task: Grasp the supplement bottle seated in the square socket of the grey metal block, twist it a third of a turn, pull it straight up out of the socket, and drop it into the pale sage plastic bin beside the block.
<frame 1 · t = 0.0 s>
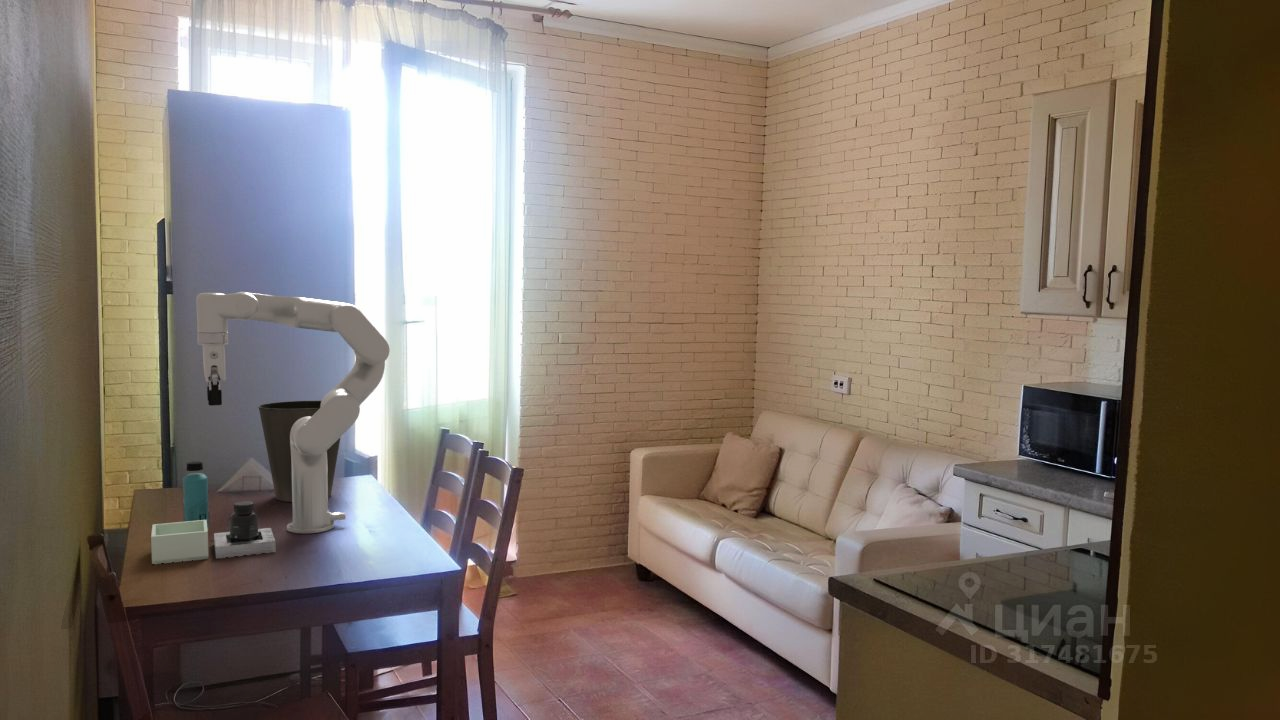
hand: (214, 402, 254), 37 cm above the table, tool pointing down, fingers open, 9 cm apart
socket block: (244, 548, 247), on the table
supplement bottle: (244, 549, 247), resting in socket block
beverage bottle: (196, 534, 261), on the table
bin: (180, 554, 241), on the table
waste basket: (304, 497, 306), on the table
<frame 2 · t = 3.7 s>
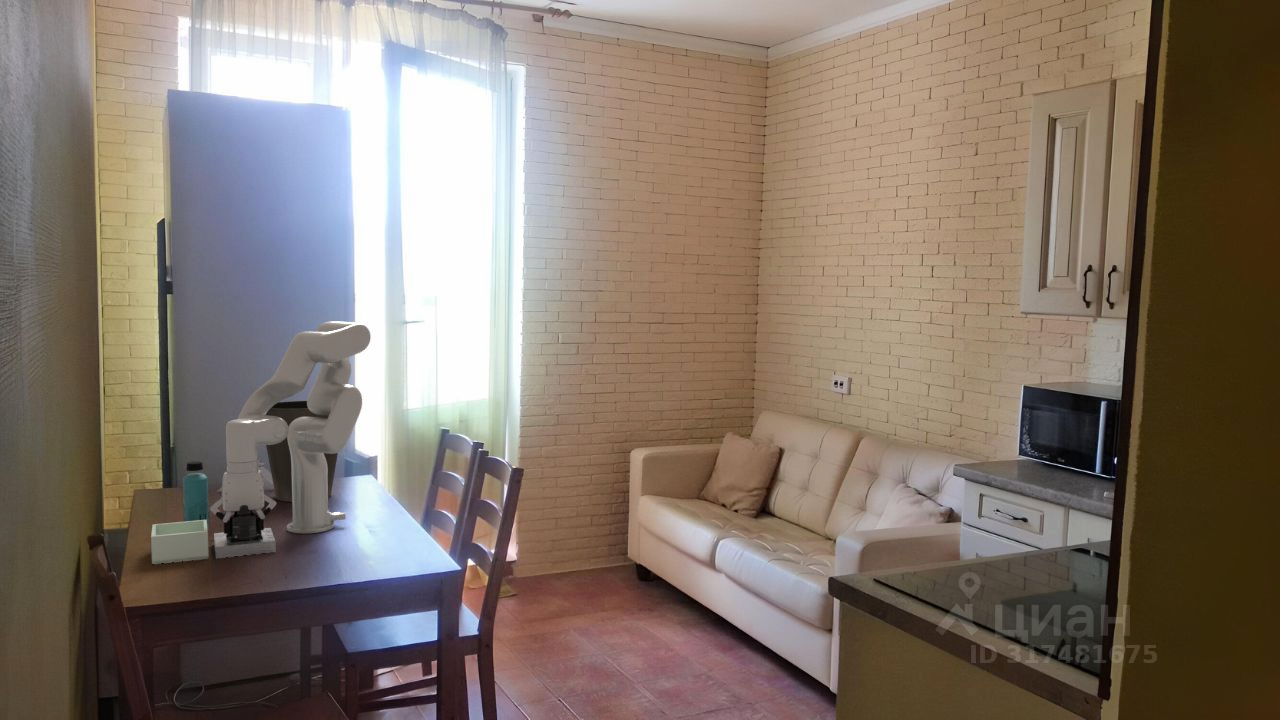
hand: (244, 534, 247), 4 cm above the table, tool pointing down, fingers closed on supplement bottle, 6 cm apart
supplement bottle: (244, 549, 247), resting in socket block, touching gripper
everything else where it was.
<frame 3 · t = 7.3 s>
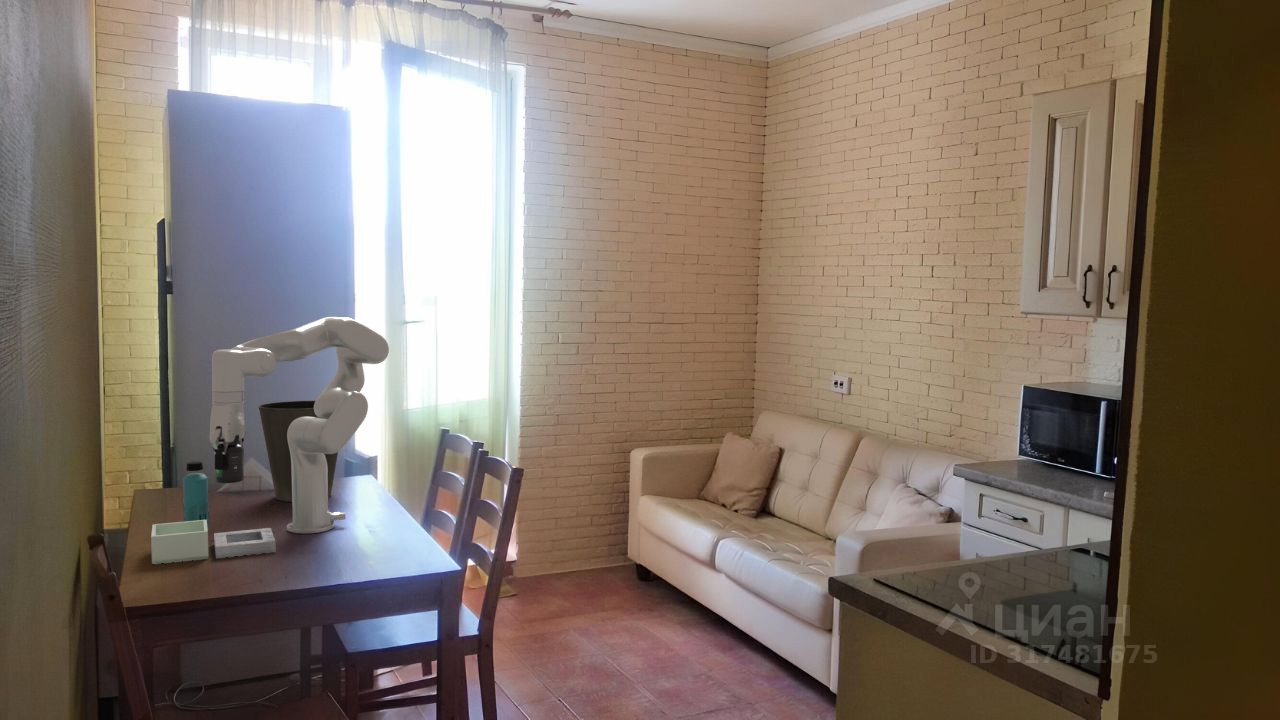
hand: (228, 466, 244), 22 cm above the table, tool pointing down, fingers closed on supplement bottle, 6 cm apart
supplement bottle: (229, 481, 244), point 18 cm above the table, touching gripper
everything else where it was.
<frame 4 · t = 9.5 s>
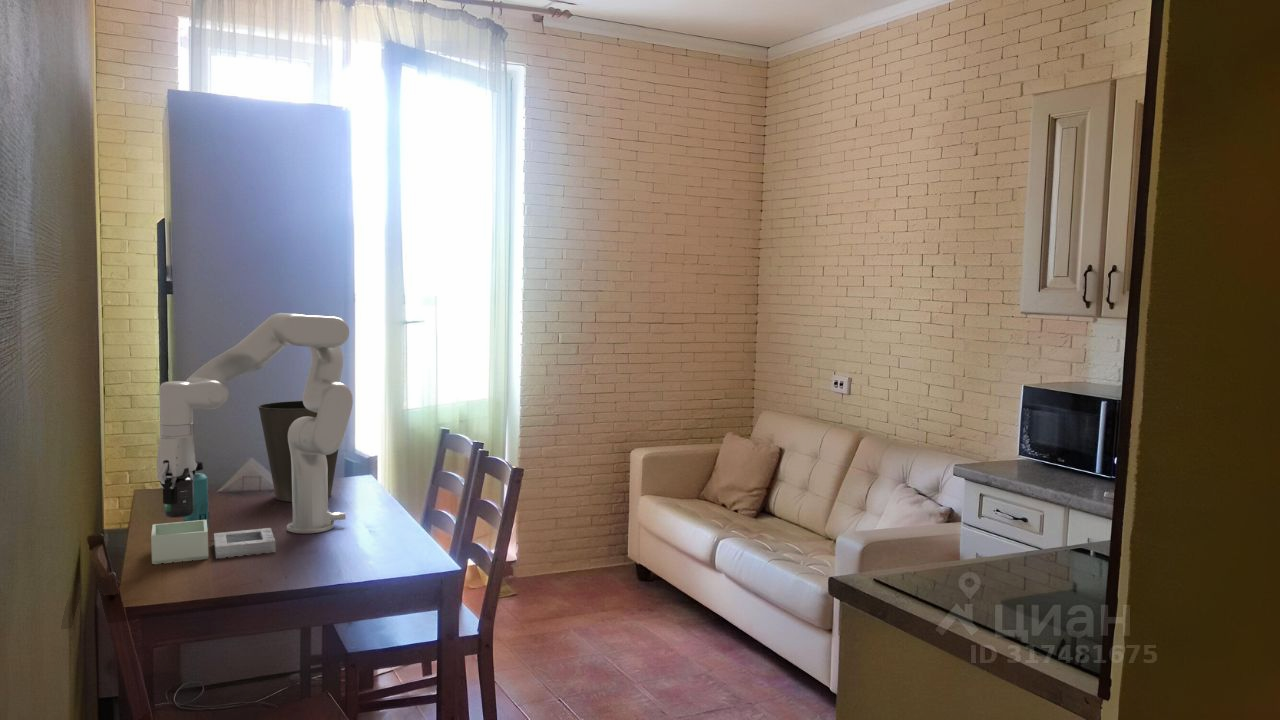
hand: (178, 500, 240), 14 cm above the table, tool pointing down, fingers closed on supplement bottle, 6 cm apart
supplement bottle: (179, 515, 240), point 10 cm above the table, touching gripper
everything else where it was.
when the fingers open (7 cm above the table, at t = 11.3 s): supplement bottle drops 2 cm, resting on bin.
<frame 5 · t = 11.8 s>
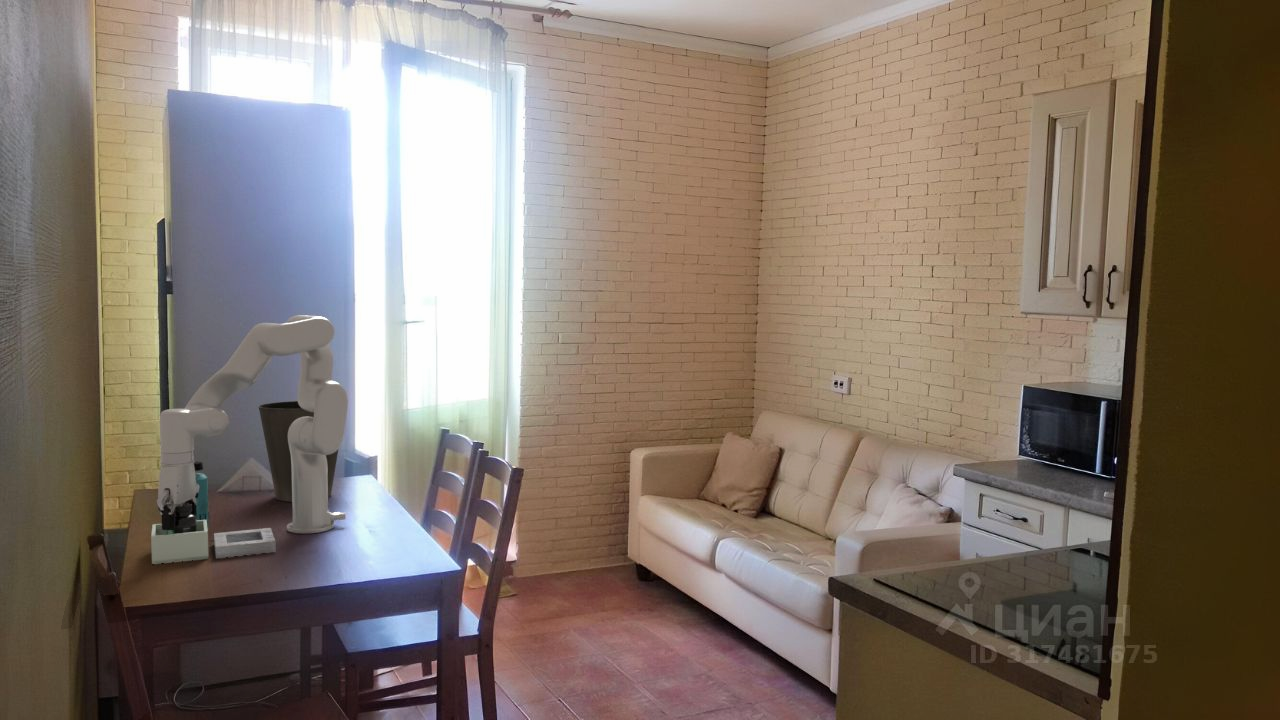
hand: (179, 524, 240), 8 cm above the table, tool pointing down, fingers open, 9 cm apart
supplement bottle: (182, 552, 241), point 1 cm above the table, touching bin
everything else where it was.
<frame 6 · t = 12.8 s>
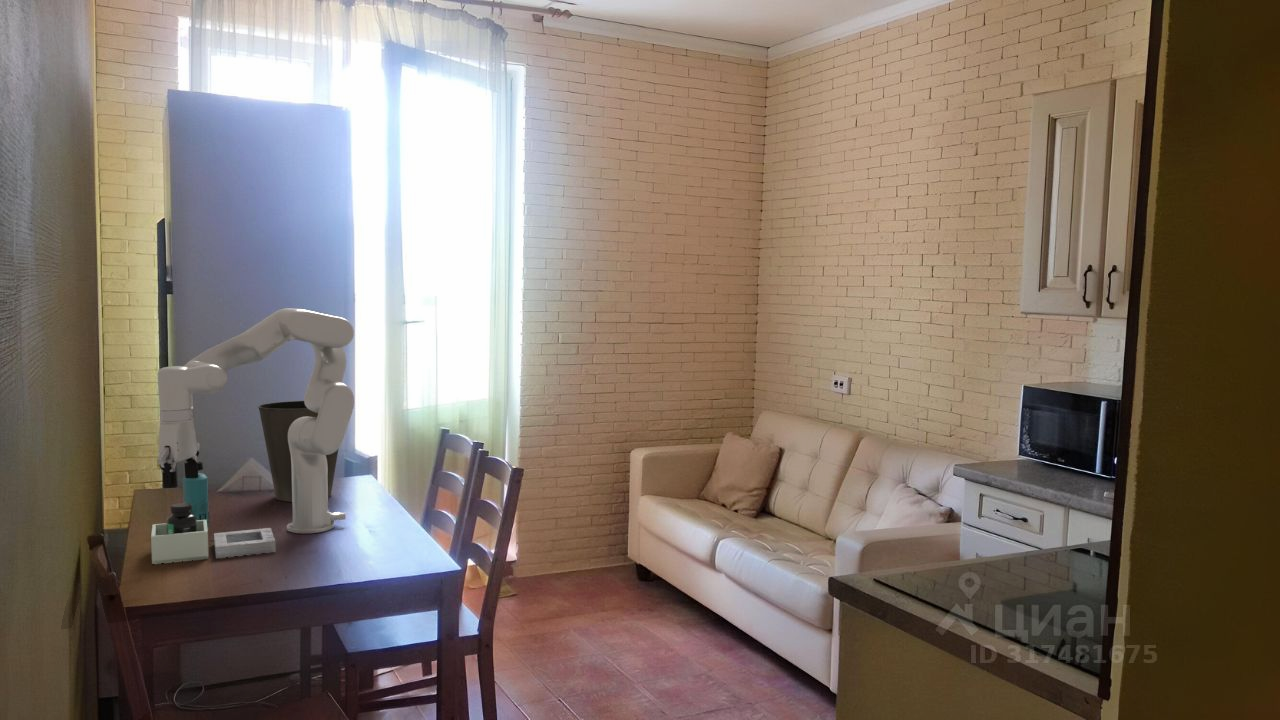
hand: (181, 482, 240), 19 cm above the table, tool pointing down, fingers open, 9 cm apart
nothing on the table moved.
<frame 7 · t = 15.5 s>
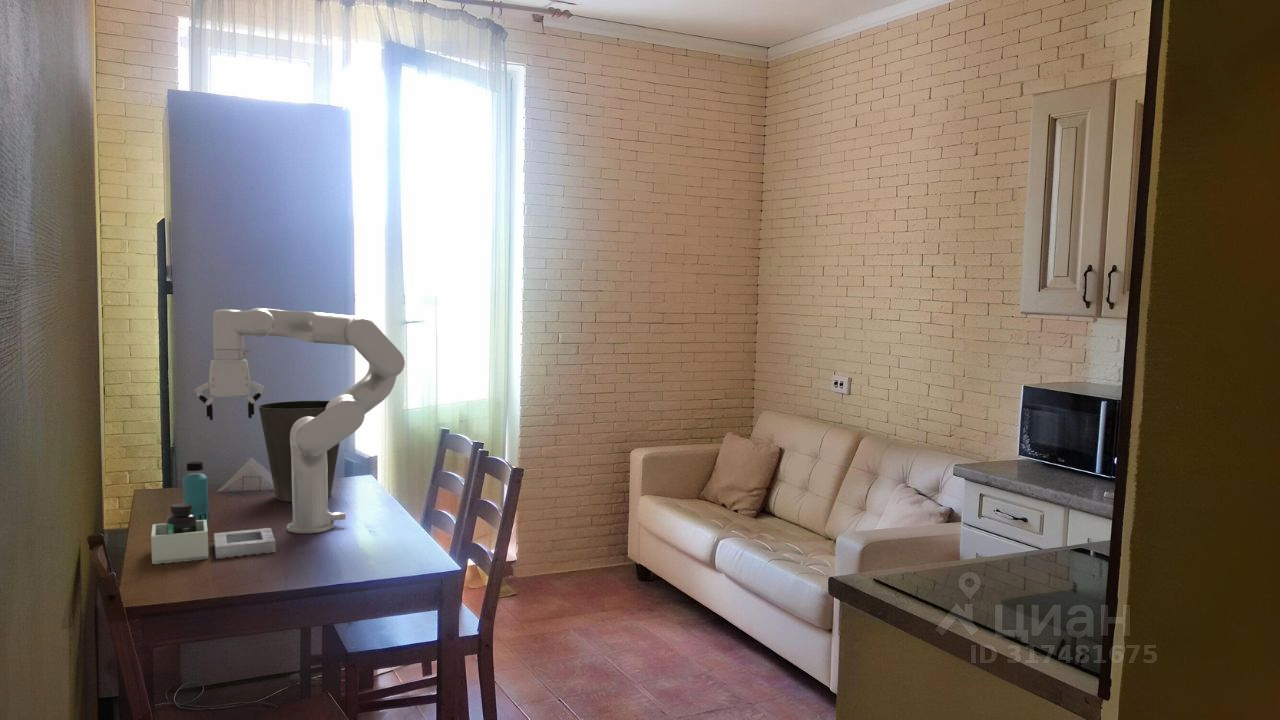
hand: (230, 418, 256), 32 cm above the table, tool pointing down, fingers open, 9 cm apart
nothing on the table moved.
at the end: supplement bottle inside the target area on the bin (0.5 cm from its centre), point 0.6 cm above the bin's base; supplement bottle tilted 0°; the gripper is holding nothing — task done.
